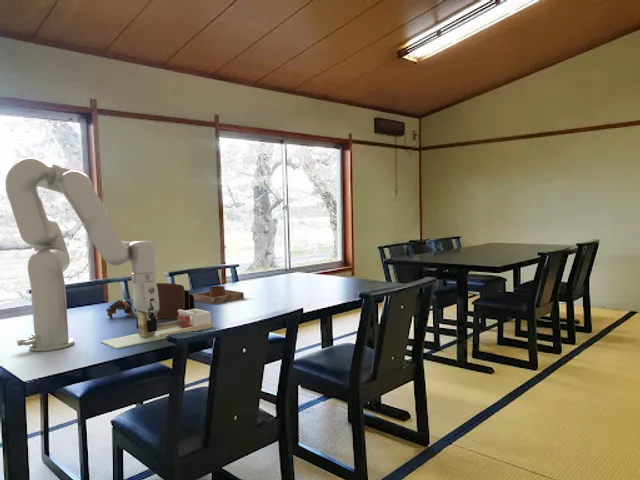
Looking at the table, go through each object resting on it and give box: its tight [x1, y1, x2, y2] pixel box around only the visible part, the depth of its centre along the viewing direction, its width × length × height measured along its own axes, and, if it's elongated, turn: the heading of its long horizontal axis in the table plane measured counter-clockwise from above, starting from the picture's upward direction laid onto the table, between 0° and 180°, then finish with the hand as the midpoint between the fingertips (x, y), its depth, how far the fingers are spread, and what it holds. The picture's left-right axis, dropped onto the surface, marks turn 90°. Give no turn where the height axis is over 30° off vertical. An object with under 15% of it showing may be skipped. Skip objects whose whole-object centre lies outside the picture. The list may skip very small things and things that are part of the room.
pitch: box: [100, 308, 214, 350], centre depth 167 cm, size 35×12×6 cm, turn 136°
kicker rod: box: [137, 310, 190, 337], centre depth 168 cm, size 17×5×8 cm, turn 136°
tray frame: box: [192, 289, 245, 305], centre depth 230 cm, size 17×17×3 cm
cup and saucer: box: [207, 285, 229, 297], centre depth 230 cm, size 12×12×6 cm
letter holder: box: [150, 282, 196, 319], centre depth 198 cm, size 10×20×14 cm, turn 80°
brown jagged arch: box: [105, 299, 135, 319], centre depth 198 cm, size 12×10×8 cm
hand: (146, 329), depth 164 cm, fingers open, 7 cm apart
